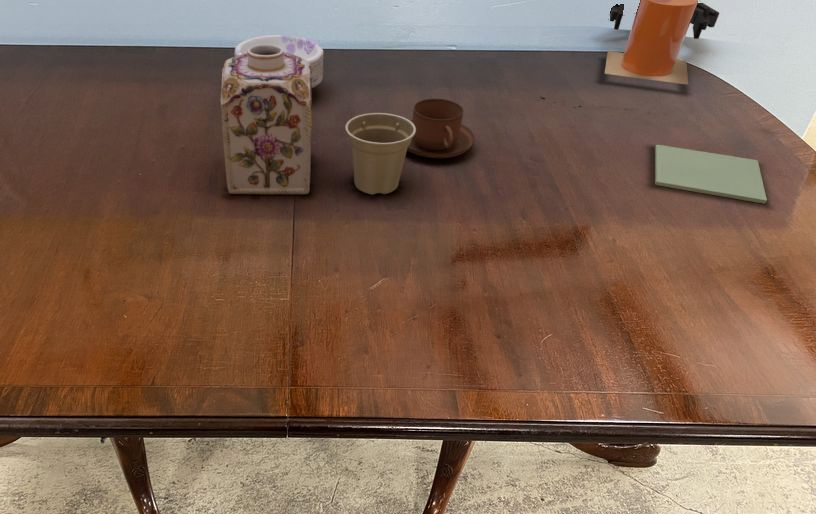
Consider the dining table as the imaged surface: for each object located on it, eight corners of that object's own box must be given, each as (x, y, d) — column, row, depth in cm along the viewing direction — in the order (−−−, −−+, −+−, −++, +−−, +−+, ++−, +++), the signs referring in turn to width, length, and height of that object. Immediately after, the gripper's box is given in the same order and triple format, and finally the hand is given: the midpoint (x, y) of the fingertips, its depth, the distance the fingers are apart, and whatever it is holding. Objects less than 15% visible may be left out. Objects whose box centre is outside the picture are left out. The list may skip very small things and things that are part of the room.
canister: (672, 61, 125) (697, -8, 117) (672, 79, 119) (699, 7, 111) (621, 55, 128) (642, -13, 120) (619, 72, 121) (641, 1, 113)
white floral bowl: (331, 80, 123) (332, 36, 117) (311, 116, 112) (311, 68, 106) (252, 73, 125) (249, 29, 120) (225, 106, 114) (221, 60, 109)
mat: (756, 163, 99) (757, 160, 99) (765, 204, 91) (767, 200, 90) (654, 147, 103) (656, 144, 103) (654, 185, 95) (656, 181, 94)
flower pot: (353, 163, 100) (356, 108, 94) (415, 174, 97) (422, 117, 91) (334, 195, 93) (336, 137, 87) (400, 206, 91) (407, 148, 85)
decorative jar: (226, 196, 93) (214, 66, 81) (233, 155, 101) (224, 33, 89) (312, 196, 93) (313, 66, 81) (312, 155, 101) (313, 33, 89)
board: (683, 68, 126) (686, 60, 125) (685, 92, 118) (688, 84, 117) (605, 58, 130) (607, 50, 129) (602, 81, 122) (604, 73, 121)
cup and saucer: (489, 152, 102) (496, 114, 98) (427, 173, 97) (433, 134, 93) (437, 123, 110) (443, 86, 105) (378, 141, 105) (381, 103, 101)
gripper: (718, 20, 135) (725, 56, 120) (588, 6, 141) (580, 39, 127) (733, -21, 130) (743, 12, 115) (598, -33, 136) (591, -4, 122)
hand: (658, 26), depth 121 cm, fingers open, 13 cm apart
